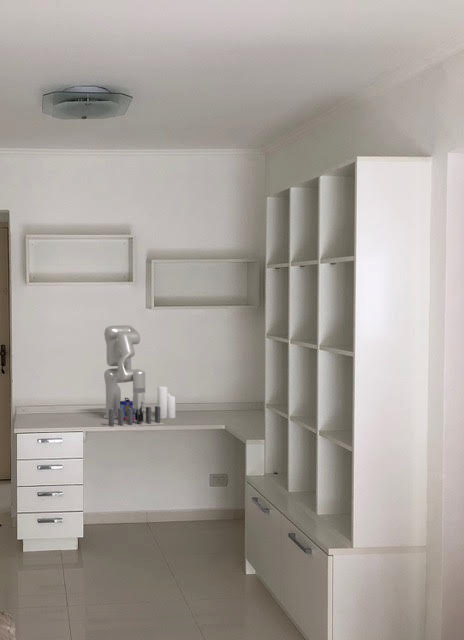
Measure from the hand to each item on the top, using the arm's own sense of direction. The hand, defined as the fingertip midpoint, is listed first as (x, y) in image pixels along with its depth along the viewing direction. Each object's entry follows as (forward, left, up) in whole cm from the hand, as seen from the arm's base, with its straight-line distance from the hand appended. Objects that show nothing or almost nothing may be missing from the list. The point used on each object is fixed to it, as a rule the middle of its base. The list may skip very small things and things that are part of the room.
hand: (139, 420), depth 579 cm
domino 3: (0, -6, -2) cm, 6 cm away
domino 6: (0, +12, -2) cm, 12 cm away
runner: (0, -3, -3) cm, 4 cm away
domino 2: (0, -12, -2) cm, 12 cm away
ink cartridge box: (-20, 0, -3) cm, 20 cm away
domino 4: (0, 0, -2) cm, 2 cm away
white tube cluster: (-20, +26, -3) cm, 33 cm away
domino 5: (0, +6, -2) cm, 6 cm away
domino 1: (0, -18, -2) cm, 18 cm away
